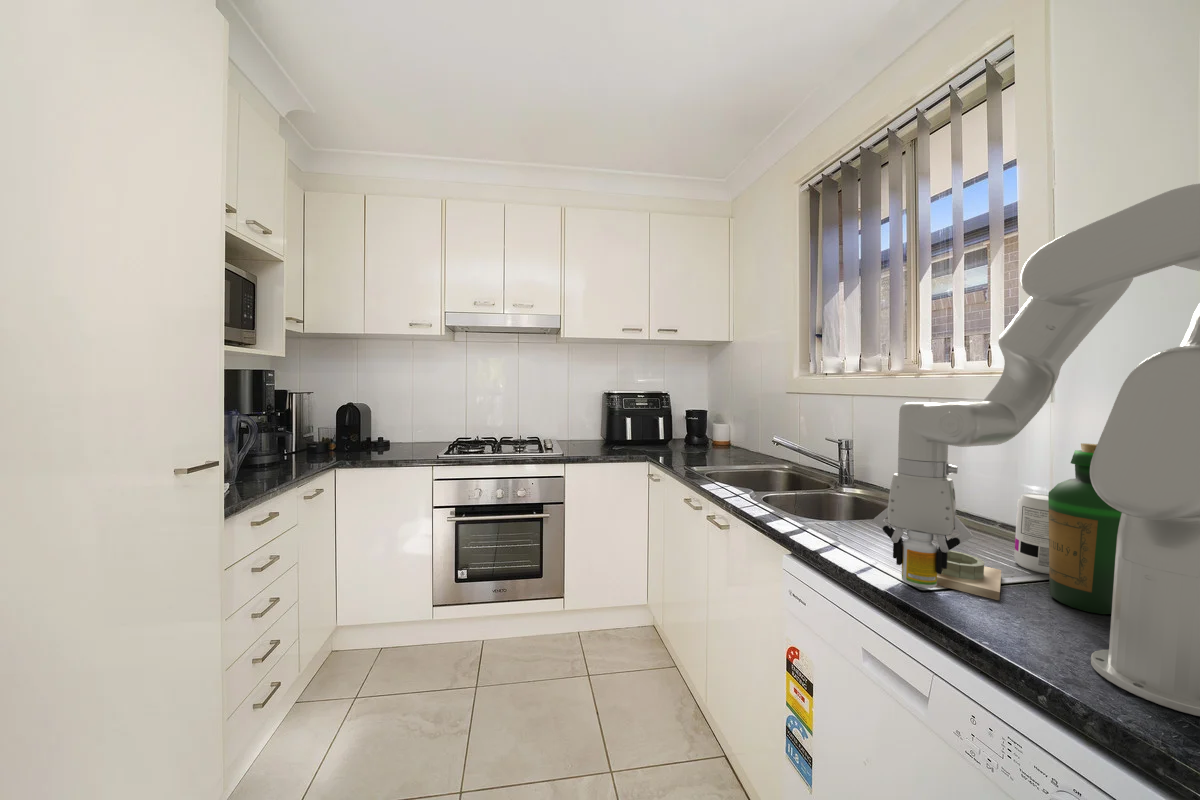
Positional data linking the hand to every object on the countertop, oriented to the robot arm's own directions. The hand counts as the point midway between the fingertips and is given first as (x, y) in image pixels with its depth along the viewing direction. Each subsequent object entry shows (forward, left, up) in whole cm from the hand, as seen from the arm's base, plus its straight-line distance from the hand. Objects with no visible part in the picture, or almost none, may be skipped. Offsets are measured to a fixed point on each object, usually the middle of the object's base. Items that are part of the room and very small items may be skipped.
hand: (919, 566), depth 86 cm
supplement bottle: (0, 0, -3) cm, 3 cm away
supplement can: (-17, -31, -4) cm, 36 cm away
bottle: (-22, -13, -4) cm, 26 cm away
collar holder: (-4, -11, -4) cm, 13 cm away
